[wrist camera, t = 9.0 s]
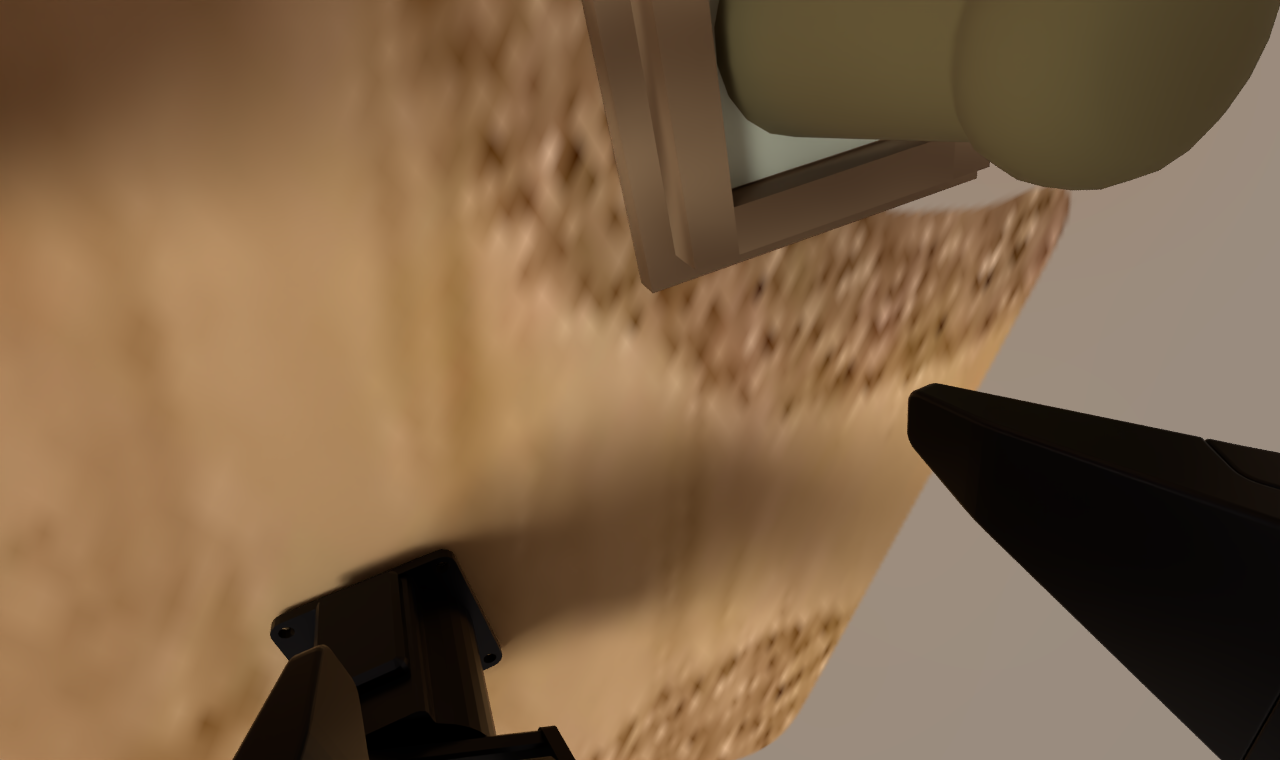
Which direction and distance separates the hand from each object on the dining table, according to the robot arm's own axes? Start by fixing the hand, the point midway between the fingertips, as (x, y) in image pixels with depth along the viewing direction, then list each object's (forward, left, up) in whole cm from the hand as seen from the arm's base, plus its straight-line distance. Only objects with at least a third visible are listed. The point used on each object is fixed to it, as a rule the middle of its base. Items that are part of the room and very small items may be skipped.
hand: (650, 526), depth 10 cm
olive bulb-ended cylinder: (+4, -11, -12) cm, 17 cm away
